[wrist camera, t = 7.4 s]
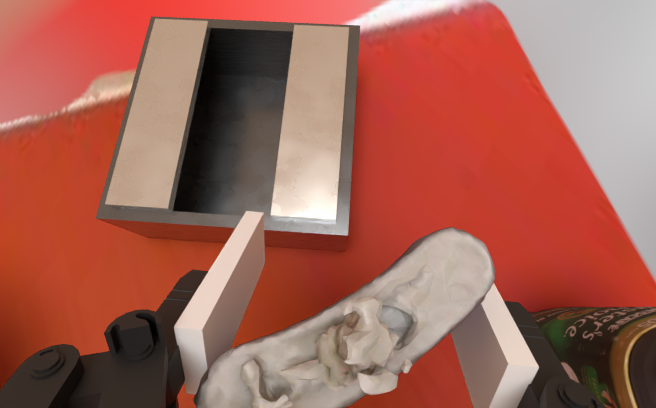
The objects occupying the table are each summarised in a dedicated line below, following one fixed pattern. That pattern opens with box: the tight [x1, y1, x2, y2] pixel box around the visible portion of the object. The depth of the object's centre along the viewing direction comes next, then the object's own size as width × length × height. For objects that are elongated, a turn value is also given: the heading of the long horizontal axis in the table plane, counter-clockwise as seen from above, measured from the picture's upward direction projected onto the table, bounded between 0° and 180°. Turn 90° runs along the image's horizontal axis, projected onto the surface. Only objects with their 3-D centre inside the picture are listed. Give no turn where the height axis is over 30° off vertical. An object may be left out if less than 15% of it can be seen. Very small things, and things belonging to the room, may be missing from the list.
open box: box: [96, 17, 360, 252], centre depth 33 cm, size 20×20×9 cm
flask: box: [194, 227, 495, 408], centre depth 12 cm, size 9×3×11 cm, turn 120°
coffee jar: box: [531, 307, 656, 408], centre depth 22 cm, size 10×8×19 cm
